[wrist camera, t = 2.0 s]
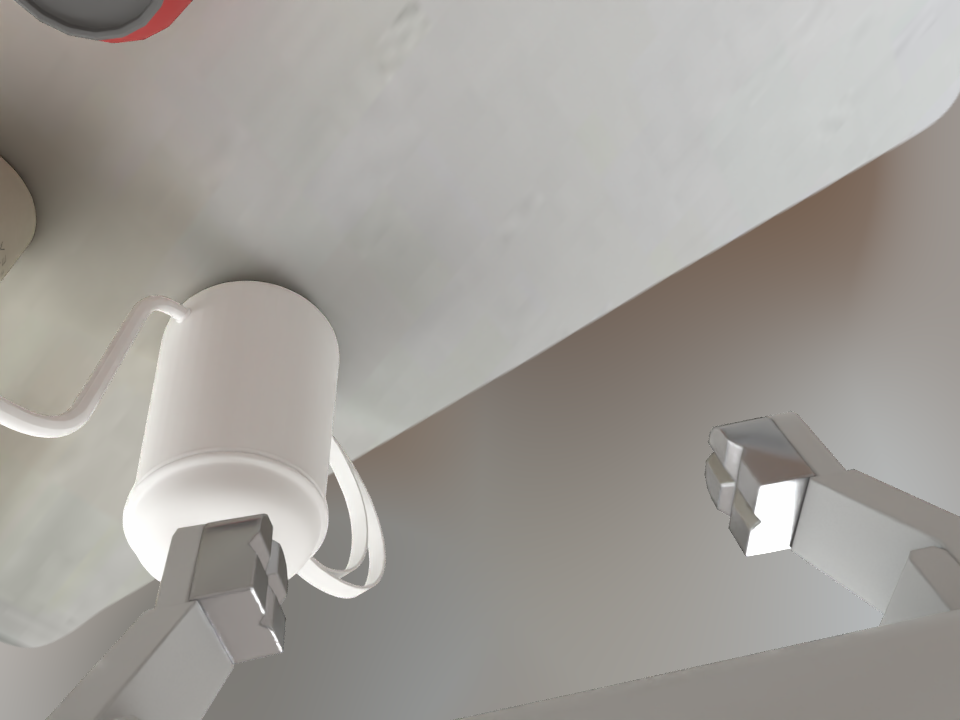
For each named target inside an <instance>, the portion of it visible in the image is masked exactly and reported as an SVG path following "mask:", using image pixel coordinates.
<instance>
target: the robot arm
mask: <svg viewBox="0 0 960 720" xmlns="http://www.w3.org/2000/svg"><path fill="white" fill-rule="evenodd" d="M708 443H709V445H710V446H711V448H712V449H713V451H714V452H713V453H712V454H711V455H710V456H709V458H708V459H707V460H706V466H705V478H706V484H707V489H708V491H709V494H710V496H711V499H712V501H713V502H714V504H715V506H716V508H717V509H718V510H719V511H721V512H723V513H725V514H727V515H729V516H730V523H729V529H730V531H731V533H732V534H733V536H734V538H735V539H736V541H737V543H738V544H739V546H740V548H741V549H742V551H743V552H744V554H745V556H751V555H757V554H762V553H768V552H773V551H779V550H784V549H790V548H791V551H792V552H794V553H795V554H796V555H798V556H799V557H801V558H802V559H804V560H805V561H807V562H808V563H810V564H811V565H812V566H814V567H815V568H817V569H818V570H820V571H822V572H823V573H824V574H826V575H827V576H828V577H830V578H831V579H833V580H834V581H836V582H837V583H839V584H840V585H842V586H843V587H845V588H846V589H847V590H849V591H851V592H852V593H853V594H855V595H856V596H857V597H859V598H861V599H862V600H863V601H865V602H866V603H868V604H869V605H871V606H872V607H873V608H875V609H876V610H878V611H879V612H881V613H882V614H884V616H883V618H882V621H881V623H880V625H879V627H874V628H869V629H865V630H860V631H855V632H851V633H846V634H842V635H837V636H832V637H828V638H823V639H819V640H814V641H810V642H805V643H801V644H796V645H792V646H787V647H782V648H778V649H774V650H769V651H764V652H760V653H755V654H751V655H746V656H742V657H737V658H732V659H728V660H724V661H719V662H715V663H710V664H706V665H701V666H696V667H692V668H687V669H683V670H678V671H674V672H669V673H665V674H660V675H655V676H651V677H646V678H642V679H637V680H633V681H628V682H624V683H619V684H615V685H610V686H606V687H601V688H597V689H592V690H588V691H583V692H578V693H574V694H569V695H565V696H560V697H556V698H551V699H546V700H542V701H537V702H533V703H528V704H524V705H519V706H514V707H510V708H506V709H501V710H496V711H492V712H487V713H482V714H478V715H473V716H469V717H464V718H460V719H455V720H960V517H959V516H957V515H954V514H952V513H950V512H948V511H946V510H944V509H941V508H939V507H937V506H935V505H932V504H930V503H928V502H926V501H924V500H921V499H919V498H917V497H915V496H912V495H910V494H908V493H906V492H904V491H902V490H899V489H897V488H895V487H893V486H890V485H888V484H886V483H884V482H882V481H879V480H877V479H875V478H873V477H870V476H868V475H866V474H864V473H862V472H859V471H857V470H855V469H851V470H845V468H844V467H843V466H842V465H841V464H840V463H839V462H838V460H837V459H836V458H835V457H834V456H833V454H832V453H831V452H830V451H829V450H828V449H827V448H826V446H825V445H824V444H823V443H822V442H821V441H820V440H819V438H818V437H817V436H816V435H815V434H814V432H813V431H812V430H811V429H810V428H809V427H808V426H807V424H806V423H805V422H804V421H803V420H802V419H801V418H800V416H799V415H798V414H796V413H794V412H792V411H790V412H785V413H780V414H775V415H770V416H766V417H760V418H755V419H750V420H745V421H741V422H735V423H730V424H725V425H721V426H715V427H713V428H712V430H711V432H710V435H709V442H708ZM272 535H273V525H272V523H271V521H270V519H269V517H268V515H267V514H264V513H263V514H257V515H251V516H245V517H239V518H233V519H227V520H221V521H215V522H209V523H207V524H201V525H194V526H188V527H182V528H178V529H177V530H176V532H175V533H174V535H173V536H172V539H171V543H170V547H169V551H168V555H167V559H166V563H165V567H164V571H163V575H162V579H161V583H160V587H159V591H158V595H157V599H156V603H155V607H154V609H150V610H146V611H144V612H143V614H142V615H141V616H140V617H139V618H138V619H137V620H136V621H135V622H134V623H133V624H132V626H131V627H130V628H129V629H128V630H127V631H126V632H125V633H124V634H123V636H121V638H120V639H119V640H118V641H117V642H116V643H115V644H114V645H113V646H112V648H111V649H110V650H109V651H108V652H107V653H106V654H105V655H104V656H103V657H102V658H101V659H100V661H99V662H98V663H97V664H96V665H95V666H94V667H93V668H92V669H91V670H90V671H89V673H88V674H87V675H86V676H85V677H84V678H83V679H82V680H81V681H80V683H78V685H77V686H76V687H75V688H74V689H73V690H72V691H71V692H70V693H69V694H68V696H67V697H66V698H65V699H64V700H63V701H62V702H61V703H60V704H59V705H58V707H57V708H56V709H55V710H54V711H53V712H52V713H51V714H50V715H49V716H48V717H47V718H46V720H201V719H202V717H203V716H204V715H205V713H206V711H207V710H208V708H209V706H210V705H211V703H212V702H213V700H214V698H215V697H216V695H217V694H218V692H219V690H220V689H221V687H222V686H223V684H224V682H225V681H226V679H227V678H228V676H229V674H230V673H231V671H232V670H233V667H234V666H233V664H236V663H241V662H245V661H249V660H253V659H257V658H262V657H266V656H270V655H275V654H278V653H283V649H284V635H285V621H286V618H285V615H284V613H283V611H282V608H281V606H280V605H281V603H282V602H283V601H284V600H285V598H286V597H287V592H288V576H287V565H286V561H285V556H284V553H283V550H282V547H281V545H280V543H278V542H276V541H274V540H272Z"/></svg>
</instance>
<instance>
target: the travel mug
mask: <svg viewBox="0 0 960 720" xmlns="http://www.w3.org/2000/svg"><path fill="white" fill-rule="evenodd" d="M35 228H36V212H35V207H34V203H33V200H32V197H31V195H30V193H29V191H28V188H27V187H26V185H25V183H24V182H23V180H22V179H21V178H20V176H19V175H18V174H17V172H16V171H15V170H14V169H13V168H12V167H11V166H10V165H9V164H8V163H7V162H6V161H5V160H4V159H3V158H1V157H0V282H1V281H2V279H3V278H4V277H5V276H6V274H7V273H8V272H9V270H10V269H11V268H12V266H13V265H14V264H15V262H16V261H17V260H18V258H19V257H20V256H21V254H22V253H23V252H24V251H25V249H26V248H27V247H28V245H29V244H30V242H31V240H32V238H33V235H34V232H35Z"/></svg>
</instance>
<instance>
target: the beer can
mask: <svg viewBox="0 0 960 720" xmlns="http://www.w3.org/2000/svg"><path fill="white" fill-rule="evenodd" d="M14 1H16V2H17V3H18V4H19V5H20V6H22V7H23V8H24V9H25V10H27V11H28V12H29V13H30V14H32V15H33V16H34V17H35V18H36V19H38V20H39V21H40V22H42V23H44V24H46V25H48V26H51V27H53V28H55V29H57V30H59V31H61V32H63V33H65V34H67V35H70V36H75V37H81V38H86V39H91V40H97V41H98V40H99V41H104V42H109V43H120V42H128V41H136V40H144V39H146V38H148V37H150V36H152V35H154V34H156V33H158V32H160V31H161V30H163V29H165V28H167V27H169V26H170V25H171V24H172V22H173V21H174V20H175V19H176V18H177V17H178V16H179V15H180V14H181V13H182V12H183V10H184V9H185V8H186V7H187V6H188V5H189V4H190V3H191V2H192V1H193V0H14Z"/></svg>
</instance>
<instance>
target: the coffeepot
mask: <svg viewBox="0 0 960 720" xmlns="http://www.w3.org/2000/svg"><path fill="white" fill-rule="evenodd" d="M154 311H161V312H164V313H166V314H168V315H170V316H172V317H171V318H170V320H169V322H168V324H167V326H166V328H165V331H164V334H163V337H162V342H161V347H160V353H159V358H158V363H157V369H156V374H155V379H154V385H153V390H152V396H151V401H150V406H149V412H148V417H147V422H146V428H145V433H144V439H143V444H142V449H141V455H140V460H139V465H138V471H137V476H136V481H135V485H134V486H133V488H132V490H131V492H130V494H129V496H128V498H127V501H126V505H125V508H124V512H123V529H124V533H125V536H126V539H127V541H128V543H129V545H130V546H131V548H132V549H133V551H134V552H135V553H136V554H137V557H138V559H139V560H140V562H141V563H142V565H143V566H144V567H145V568H146V570H147V571H148V572H149V573H150V574H151V575H152V576H153V577H154V578H156V579H157V580H158V581H160V582H161V579H162V575H163V571H164V567H165V563H166V559H167V555H168V551H169V547H170V543H171V539H172V536H173V535H174V533H175V532H176V530H177V529H178V528H182V527H188V526H194V525H201V524H207V523H209V522H215V521H221V520H227V519H233V518H239V517H245V516H251V515H257V514H263V513H264V514H267V515H268V517H269V519H270V521H271V523H272V525H273V535H272V540H274V541H276V542H278V543H280V545H281V547H282V550H283V553H284V556H285V561H286V565H287V576H288V579H290V578H291V577H292V576H294V575H295V574H296V573H297V574H298V575H300V576H301V577H302V578H303V579H305V580H306V581H307V582H309V583H310V584H312V585H313V586H315V587H316V588H318V589H320V590H322V591H324V592H326V593H328V594H330V595H333V596H336V597H339V598H353V597H356V596H358V595H359V594H361V593H363V592H365V591H366V590H368V589H370V588H371V587H373V586H375V585H377V583H378V582H379V581H380V580H381V578H382V576H383V572H384V570H385V561H386V552H385V543H384V538H383V533H382V529H381V525H380V522H379V519H378V515H377V513H376V510H375V507H374V505H373V502H372V500H371V497H370V496H369V493H368V491H367V489H366V487H365V485H364V483H363V481H362V479H361V477H360V476H359V474H358V472H357V470H356V468H355V467H354V465H353V463H352V462H351V460H350V459H349V457H348V455H347V454H346V452H345V451H344V449H343V448H342V447H341V445H340V444H339V442H338V441H337V440H336V438H335V437H334V436H333V435H332V429H333V419H334V409H335V399H336V390H337V380H338V370H339V347H338V342H337V339H336V336H335V333H334V331H333V329H332V327H331V325H330V323H329V322H328V320H327V319H326V317H325V316H324V315H323V314H322V313H321V312H320V310H319V309H318V308H317V307H316V306H314V305H313V304H312V303H311V302H310V301H308V300H307V299H305V298H304V297H302V296H301V295H299V294H297V293H295V292H293V291H291V290H289V289H287V288H284V287H281V286H278V285H274V284H270V283H265V282H258V281H234V282H227V283H222V284H218V285H215V286H212V287H209V288H207V289H205V290H202V291H200V292H199V293H197V294H195V295H194V296H192V297H191V298H189V299H188V300H186V301H185V302H184V303H183V304H182V305H181V304H179V303H178V302H176V301H174V300H172V299H170V298H167V297H164V296H158V295H154V296H148V297H145V298H143V299H141V300H140V301H139V302H137V303H136V304H135V305H134V307H133V308H132V310H131V311H130V312H129V314H128V315H127V317H126V318H125V320H124V321H123V323H122V325H121V326H120V328H119V330H118V331H117V333H116V334H115V336H114V338H113V339H112V341H111V343H110V344H109V346H108V347H107V349H106V351H105V352H104V354H103V356H102V357H101V359H100V361H99V362H98V364H97V365H96V367H95V369H94V370H93V372H92V374H91V375H90V377H89V379H88V380H87V382H86V383H85V385H84V387H83V388H82V390H81V392H80V393H79V395H78V396H77V398H76V399H75V401H74V402H73V404H72V405H71V407H70V408H69V409H68V410H67V411H66V412H64V413H63V414H61V415H57V416H48V415H42V414H38V413H35V412H32V411H30V410H27V409H25V408H23V407H21V406H19V405H17V404H15V403H13V402H11V401H9V400H7V399H5V398H3V397H2V396H0V424H2V425H4V426H6V427H8V428H10V429H13V430H15V431H18V432H21V433H23V434H28V435H32V436H37V437H46V438H53V437H62V436H66V435H68V434H71V433H73V432H75V431H76V430H78V429H79V428H80V427H82V426H83V425H84V424H85V423H86V422H87V421H88V420H89V418H90V417H91V415H92V413H93V412H94V410H95V409H96V407H97V405H98V404H99V402H100V400H101V399H102V397H103V395H104V393H105V391H106V390H107V388H108V386H109V384H110V383H111V381H112V379H113V377H114V375H115V374H116V372H117V370H118V368H119V366H120V365H121V363H122V361H123V359H124V358H125V356H126V354H127V352H128V350H129V349H130V347H131V345H132V343H133V341H134V340H135V338H136V336H137V334H138V333H139V331H140V329H141V327H142V325H143V324H144V322H145V321H146V319H147V317H148V316H149V315H150V314H151V313H152V312H154ZM329 464H330V465H331V467H332V469H333V471H334V474H335V475H336V478H337V480H338V482H339V484H340V487H341V489H342V492H343V494H344V497H345V500H346V503H347V507H348V511H349V514H350V520H351V528H352V548H351V555H350V559H349V562H348V565H347V567H346V569H345V570H334V569H330V568H327V567H325V566H323V565H322V564H320V562H318V561H317V560H316V559H315V558H314V557H312V556H313V555H314V554H315V553H316V551H317V550H318V549H319V547H320V546H321V544H322V543H323V541H324V538H325V536H326V532H327V528H328V506H327V501H326V488H327V479H328V469H329ZM367 545H368V549H369V562H370V566H369V574H368V578H367V580H366V583H365V585H364V586H358V585H353V584H351V583H348V582H345V581H343V580H341V579H340V578H341V577H343V576H345V575H346V574H348V573H350V572H351V571H353V570H355V569H356V568H358V567H359V565H361V563H362V562H363V559H364V558H365V555H366V551H367Z"/></svg>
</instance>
